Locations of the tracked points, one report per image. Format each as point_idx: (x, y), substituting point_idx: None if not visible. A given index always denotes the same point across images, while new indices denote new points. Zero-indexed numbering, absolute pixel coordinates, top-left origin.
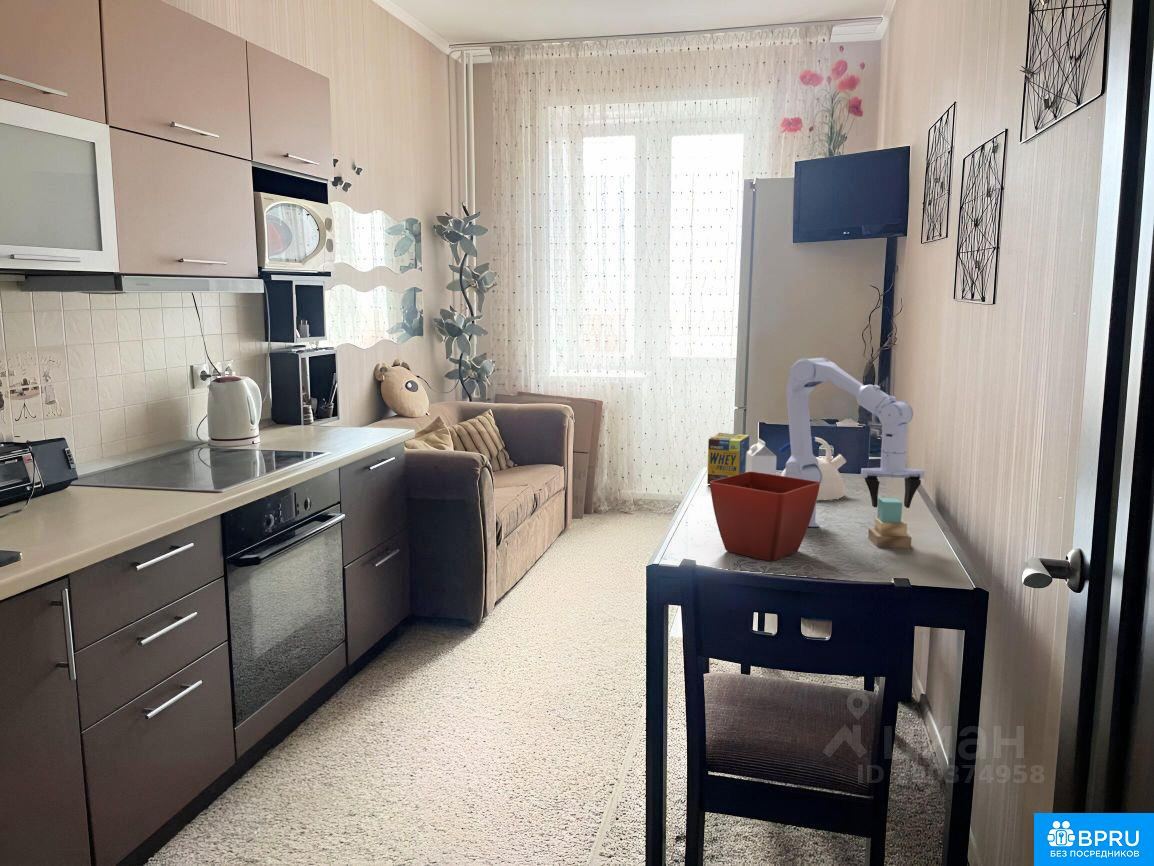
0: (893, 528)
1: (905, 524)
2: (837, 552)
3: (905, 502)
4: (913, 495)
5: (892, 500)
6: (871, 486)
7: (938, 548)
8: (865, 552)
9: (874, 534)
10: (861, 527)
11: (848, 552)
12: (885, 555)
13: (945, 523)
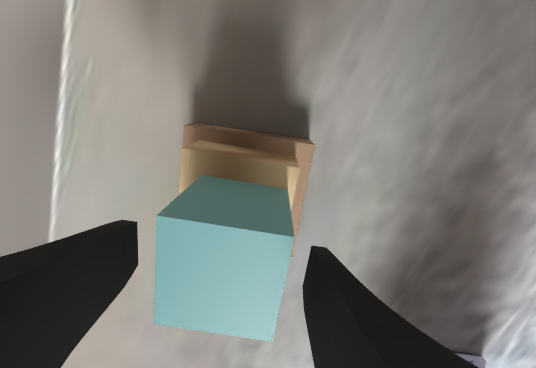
0: (246, 153)
1: (189, 148)
2: (489, 69)
3: (122, 263)
4: (25, 250)
5: (205, 275)
6: (467, 364)
7: (105, 106)
8: (385, 65)
9: (306, 182)
10: None
11: (448, 67)
12: (331, 17)
13: None
